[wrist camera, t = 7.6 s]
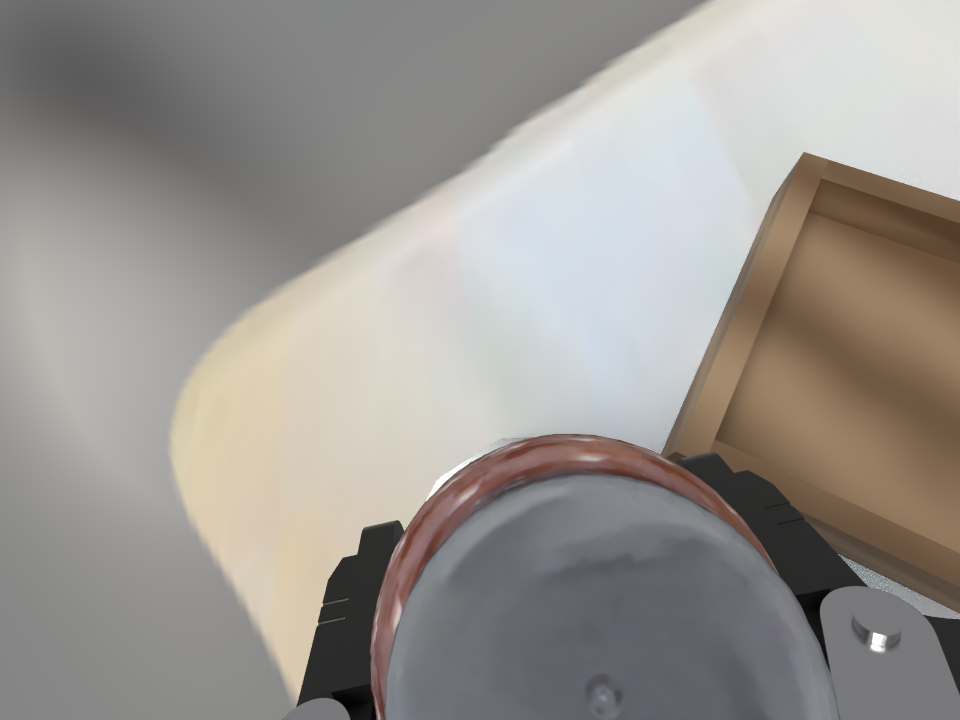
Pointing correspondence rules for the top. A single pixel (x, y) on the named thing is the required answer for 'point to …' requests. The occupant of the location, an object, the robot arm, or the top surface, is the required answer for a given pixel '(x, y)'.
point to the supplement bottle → (588, 598)
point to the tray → (846, 371)
